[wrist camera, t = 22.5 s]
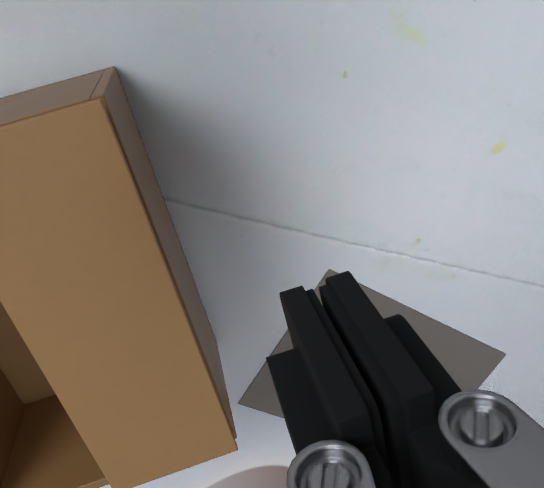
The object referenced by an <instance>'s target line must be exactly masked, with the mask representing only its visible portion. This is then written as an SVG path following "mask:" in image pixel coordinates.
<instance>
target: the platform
mask: <svg viewBox="0 0 544 488" xmlns="http://www.w3.org/2000/svg"><path fill="white" fill-rule="evenodd" d="M337 274H338V273H336V272H334V271H332V270H330V269H329V270H328V272H327V273H326V275H325V276H324V278H323V279H322V281H321V282H320V284H319V285H318V286H317V288H316V289H315V291H314V292H315V294H316V295H317V297H318V299H319V301H320V302H321V297H320V292H319V287H320V286H323V285H326V282H325V279H326V278H327V277H330V276H334V275H337ZM358 284H359V283H358ZM359 285H360V287H361V288H362V290H363V291H364V292H365V294H366V295H367V297H368V298H369V299H370V301H371V302H372V303H373V305H374V306H375V308H376V309H377V310H378V312H379V313H380V315H381V316H382V317H383V319H384V318H387V317H390V316H393V315H396V314H400V315H402V316H403V317H404V318H405V319H406V320H407V322H408V323H409V324H410V325H411V327H412V328H413V329H414V330H415V332H416V333H417V334H418V336H419V337H420V338H421V339H422V341H423V342H424V343H425V344H426V346H427V347H428V348H429V349H430V351H431V352H432V353H433V355H434V356H435V357H436V358H437V360H438V361H439V362H440V363H441V365H442V366H443V367H444V369H445V370H446V371H447V372H448V374H449V375H450V376H451V377H452V379H453V380H454V381H455V383H456V384H457V385H458V386H459V388H460V389H461V390H462V391H465V390H477V389H478V388H479V386H480V385H481V384H482V383H483V382H484V380H485V379H486V378H487V377H488V376H489V374H490V373H491V372H492V371H493V370H494V368H495V367H496V366H497V365H498V364H499V362H500V361H501V360H502V359H503V358H504V356H505V355H506V354H505V353H503V352H500V351H498V350H496V349H494V348H492V347H490V346H488V345H486V344H484V343H482V342H480V341H478V340H476V339H473V338H471V337H469V336H467V335H465V334H463V333H461V332H459V331H457V330H455V329H453V328H451V327H448V326H446V325H444V324H442V323H440V322H438V321H436V320H434V319H432V318H430V317H428V316H426V315H423V314H421V313H419V312H417V311H415V310H413V309H411V308H409V307H407V306H405V305H403V304H401V303H398V302H396V301H394V300H392V299H390V298H388V297H386V296H384V295H382V294H380V293H378V292H376V291H374V290H371V289H369V288H367V287H365V286H363V285H361V284H359ZM321 304H322V302H321ZM290 349H293V345H292V341H291V337H290V333H289V329H288V331H287V332H286V334H285V335H284V337H283V338H282V340H281V341H280V343H279V344H278V345H277V347H276V348H275V350H274V351H273V353H272V354H271V356H272V355H275V354H278V353H281V352H284V351H287V350H290ZM238 404H241V405H244V406H247V407H250V408H253V409H257V410H260V411H263V412H266V413H269V414H272V415H275V416H279V417H282V418H284V415H283V412H282V409H281V406H280V403H279V400H278V397H277V393H276V390H275V387H274V384H273V380H272V377H271V374H270V370H269V367H268V364H267V362H266V363H265V365H264V366H263V368H262V369H261V371H260V372H259V374H258V375H257V376H256V378H255V379H254V381H253V382H252V384H251V385H250V387H249V388H248V390H247V391H246V393H245V394H244V396H243V397H242V399H241V400H240V402H239V403H238Z"/></svg>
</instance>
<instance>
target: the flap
mask: <svg viewBox="0 0 544 488" xmlns="http://www.w3.org/2000/svg"><path fill="white" fill-rule="evenodd" d="M0 301H1V303H2V305H3V306H4V308H5V310H6V312H7V313H8V315H9V317H10V318H11V320H12V322H13V323H14V325H15V327H16V328H17V330H18V332H19V333H20V335H21V337H22V338H23V340H24V342H25V343H26V345H27V347H28V348H29V350H30V352H31V353H32V355H33V357H34V358H35V360H36V362H37V363H38V365H39V367H40V368H41V370H42V372H43V374H44V375H45V377H46V379H47V380H48V382H49V384H50V385H51V387H52V389H53V390H54V392H55V394H56V395H57V397H58V399H59V400H60V402H61V404H62V405H63V407H64V409H65V410H66V412H67V414H68V415H69V417H70V419H71V420H72V422H73V424H74V425H75V427H76V429H77V431H78V432H79V434H80V436H81V437H82V439H83V441H84V442H85V444H86V446H87V447H88V449H89V451H90V452H91V454H92V456H93V457H94V459H95V461H96V462H97V464H98V466H99V467H100V469H101V471H102V472H103V474H104V476H105V477H106V479H107V481H108V482H109V484H110V486H111V487H112V488H132V487H135V486H138V485H141V484H144V483H147V482H149V481H152V480H155V479H158V478H161V477H163V476H166V475H169V474H172V473H175V472H177V471H180V470H183V469H186V468H189V467H191V466H194V465H197V464H200V463H203V462H205V461H208V460H211V459H214V458H217V457H219V456H222V455H225V454H228V453H231V452H234V451H236V450H238V448H237V443H236V441H235V438H234V436H233V433H232V431H231V428H230V426H229V423H228V420H227V418H226V415H225V413H224V410H223V408H222V405H221V403H220V400H219V397H218V395H217V392H216V390H215V387H214V385H213V382H212V380H211V377H210V374H209V372H208V369H207V367H206V364H205V362H204V359H203V357H202V354H201V351H200V349H199V346H198V344H197V341H196V339H195V336H194V334H193V331H192V328H191V326H190V323H189V321H188V318H187V316H186V313H185V311H184V308H183V305H182V303H181V300H180V298H179V295H178V293H177V290H176V288H175V285H174V282H173V280H172V277H171V275H170V272H169V270H168V267H167V265H166V262H165V259H164V257H163V254H162V252H161V249H160V247H159V244H158V242H157V239H156V236H155V234H154V231H153V229H152V226H151V224H150V221H149V219H148V216H147V213H146V211H145V208H144V206H143V203H142V201H141V198H140V196H139V193H138V190H137V188H136V185H135V183H134V180H133V178H132V175H131V173H130V170H129V167H128V165H127V162H126V160H125V157H124V155H123V152H122V150H121V147H120V144H119V142H118V139H117V137H116V134H115V132H114V129H113V127H112V124H111V121H110V119H109V116H108V114H107V111H106V109H105V106H104V104H103V101H102V99H101V98H98V99H95V100H91V101H88V102H84V103H81V104H77V105H74V106H70V107H67V108H63V109H60V110H56V111H53V112H49V113H46V114H42V115H39V116H35V117H32V118H28V119H25V120H21V121H18V122H14V123H11V124H7V125H4V126H0Z"/></svg>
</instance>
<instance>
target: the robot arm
mask: <svg viewBox="0 0 544 488" xmlns="http://www.w3.org/2000/svg"><path fill="white" fill-rule="evenodd" d="M325 282H326V285H323V286H320V287H319V292H320V297H321V302H322V304H321V302H320V301H319V299H318V297H317V295H316V294H315V292H314V290H313V289H310V290H307V291H305V290H304V288H303V286H299V287H296V288H293V289H290V290H287V291H283V292H280V299H281V303H282V307H283V310H284V314H285V318H286V322H287V326H288V329H289V333H290V337H291V341H292V345H293V349H290V350H287V351H284V352H281V353H278V354H275V355H272V356H269V357H266V360H267V364H268V367H269V370H270V374H271V377H272V380H273V384H274V387H275V390H276V393H277V397H278V400H279V403H280V406H281V409H282V412H283V415H284V419H285V422H286V425H287V428H288V431H289V434H290V437H291V440H292V443H293V446H294V449H295V452H296V457H295V458H294V459H293V460H292V462H291V464H290V467H289V469H288V472H287V488H544V428H543V427H541V426H540V425H539V424H538V423H537V422H536V421H534V420H533V419H532V418H531V417H530V416H529V415H527V414H526V413H525V412H524V411H523V410H522V409H520V408H519V407H518V406H517V405H516V404H515V403H513V402H512V401H510V400H509V399H507V398H506V397H504V396H502V395H500V394H497V393H494V392H491V391H485V390H478V389H477V390H465V391H462V390H461V389H460V388H459V386H458V385H457V384H456V383H455V381H454V380H453V379H452V377H451V376H450V375H449V374H448V372H447V371H446V370H445V369H444V367H443V366H442V365H441V363H440V362H439V361H438V360H437V358H436V357H435V356H434V355H433V353H432V352H431V351H430V349H429V348H428V347H427V346H426V344H425V343H424V342H423V341H422V339H421V338H420V337H419V336H418V334H417V333H416V332H415V330H414V329H413V328H412V327H411V325H410V324H409V323H408V322H407V320H406V319H405V318H404V317H403V316H402V315H400V314H396V315H393V316H390V317H387V318H384V319H383V317H382V316H381V315H380V313H379V312H378V310H377V309H376V308H375V306H374V305H373V303H372V302H371V301H370V299H369V298H368V297H367V295H366V294H365V292H364V291H363V290H362V288H361V287H360V285H359V284H358V283H357V281H356V280H355V279H354V277H353V276H352V274H351V273H350V272H349V271H346V272H343V273H340V274H337V275H334V276H330V277H327V278H326V279H325Z"/></svg>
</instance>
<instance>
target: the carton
mask: <svg viewBox="0 0 544 488" xmlns="http://www.w3.org/2000/svg"><path fill="white" fill-rule="evenodd" d="M98 98H101V99H102V101H103V104H104V106H105V109H106V111H107V114H108V116H109V119H110V121H111V124H112V127H113V129H114V132H115V134H116V137H117V139H118V142H119V144H120V147H121V150H122V152H123V155H124V157H125V160H126V162H127V165H128V167H129V170H130V173H131V175H132V178H133V180H134V183H135V185H136V188H137V190H138V193H139V196H140V198H141V201H142V203H143V206H144V208H145V211H146V213H147V216H148V219H149V221H150V224H151V226H152V229H153V231H154V234H155V236H156V239H157V242H158V244H159V247H160V249H161V252H162V254H163V257H164V259H165V262H166V265H167V267H168V270H169V272H170V275H171V277H172V280H173V282H174V285H175V288H176V290H177V293H178V295H179V298H180V300H181V303H182V305H183V308H184V311H185V313H186V316H187V318H188V321H189V323H190V326H191V328H192V331H193V334H194V336H195V339H196V341H197V344H198V346H199V349H200V351H201V354H202V357H203V359H204V362H205V364H206V367H207V369H208V372H209V374H210V377H211V380H212V382H213V385H214V387H215V390H216V392H217V395H218V397H219V400H220V403H221V405H222V408H223V410H224V413H225V415H226V418H227V420H228V423H229V426H230V428H231V431H232V433H233V436H234V438H235V439H236V438H237V435H236V431H235V426H234V422H233V417H232V412H231V408H230V403H229V398H228V394H227V389H226V384H225V380H224V375H223V371H222V366H221V361H220V357H219V352H218V347H217V343H216V339H215V337H214V334H213V331H212V329H211V326H210V323H209V320H208V318H207V315H206V312H205V310H204V307H203V304H202V301H201V299H200V296H199V293H198V291H197V288H196V285H195V282H194V280H193V277H192V274H191V272H190V269H189V266H188V263H187V261H186V258H185V255H184V253H183V250H182V247H181V244H180V242H179V239H178V236H177V233H176V231H175V228H174V225H173V223H172V220H171V217H170V214H169V212H168V209H167V206H166V204H165V201H164V198H163V195H162V193H161V190H160V187H159V185H158V182H157V179H156V176H155V174H154V171H153V168H152V166H151V163H150V160H149V157H148V155H147V152H146V149H145V146H144V144H143V141H142V138H141V136H140V133H139V130H138V127H137V125H136V122H135V119H134V117H133V114H132V111H131V108H130V106H129V103H128V100H127V98H126V95H125V92H124V89H123V87H122V84H121V81H120V79H119V76H118V73H117V70H116V68H115V66H113V67H110V68H106V69H103V70H99V71H96V72H92V73H88V74H85V75H81V76H78V77H74V78H71V79H67V80H64V81H60V82H56V83H53V84H49V85H46V86H42V87H39V88H35V89H31V90H28V91H24V92H21V93H17V94H14V95H10V96H7V97H3V98H0V126H4V125H7V124H11V123H14V122H18V121H21V120H25V119H28V118H32V117H35V116H39V115H42V114H46V113H49V112H53V111H56V110H60V109H63V108H67V107H70V106H74V105H77V104H81V103H84V102H88V101H91V100H95V99H98ZM108 484H109V482H108V481H107V479H106V477H105V476H104V474H103V472H102V471H101V469H100V467H99V466H98V464H97V462H96V461H95V459H94V457H93V456H92V454H91V452H90V451H89V449H88V447H87V446H86V444H85V442H84V441H83V439H82V437H81V436H80V434H79V432H78V431H77V429H76V427H75V425H74V424H73V422H72V420H71V419H70V417H69V415H68V414H67V412H66V410H65V409H64V407H63V405H62V404H61V402H60V400H59V399H58V397H57V395H56V394H55V392H54V390H53V389H52V387H51V385H50V384H49V382H48V380H47V379H46V377H45V375H44V374H43V372H42V370H41V368H40V367H39V365H38V363H37V362H36V360H35V358H34V357H33V355H32V353H31V352H30V350H29V348H28V347H27V345H26V343H25V342H24V340H23V338H22V337H21V335H20V333H19V332H18V330H17V328H16V327H15V325H14V323H13V322H12V320H11V318H10V317H9V315H8V313H7V312H6V310H5V308H4V306H3V305H2V303H1V301H0V488H99V487H102V486H105V485H108Z"/></svg>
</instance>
